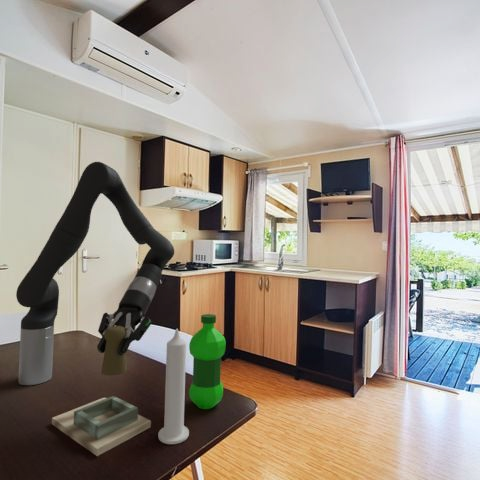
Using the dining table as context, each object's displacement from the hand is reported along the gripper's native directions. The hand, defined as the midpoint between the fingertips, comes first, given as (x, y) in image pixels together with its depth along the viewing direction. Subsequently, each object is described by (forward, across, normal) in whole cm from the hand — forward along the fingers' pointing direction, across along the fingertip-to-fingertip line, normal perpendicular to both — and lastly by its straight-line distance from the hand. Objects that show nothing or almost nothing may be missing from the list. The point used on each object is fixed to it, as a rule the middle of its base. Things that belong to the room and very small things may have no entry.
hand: (110, 352), depth 79 cm
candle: (+12, +17, +14) cm, 25 cm away
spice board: (+13, -2, +13) cm, 18 cm away
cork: (+2, 0, +5) cm, 6 cm away
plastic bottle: (0, +19, +25) cm, 32 cm away
